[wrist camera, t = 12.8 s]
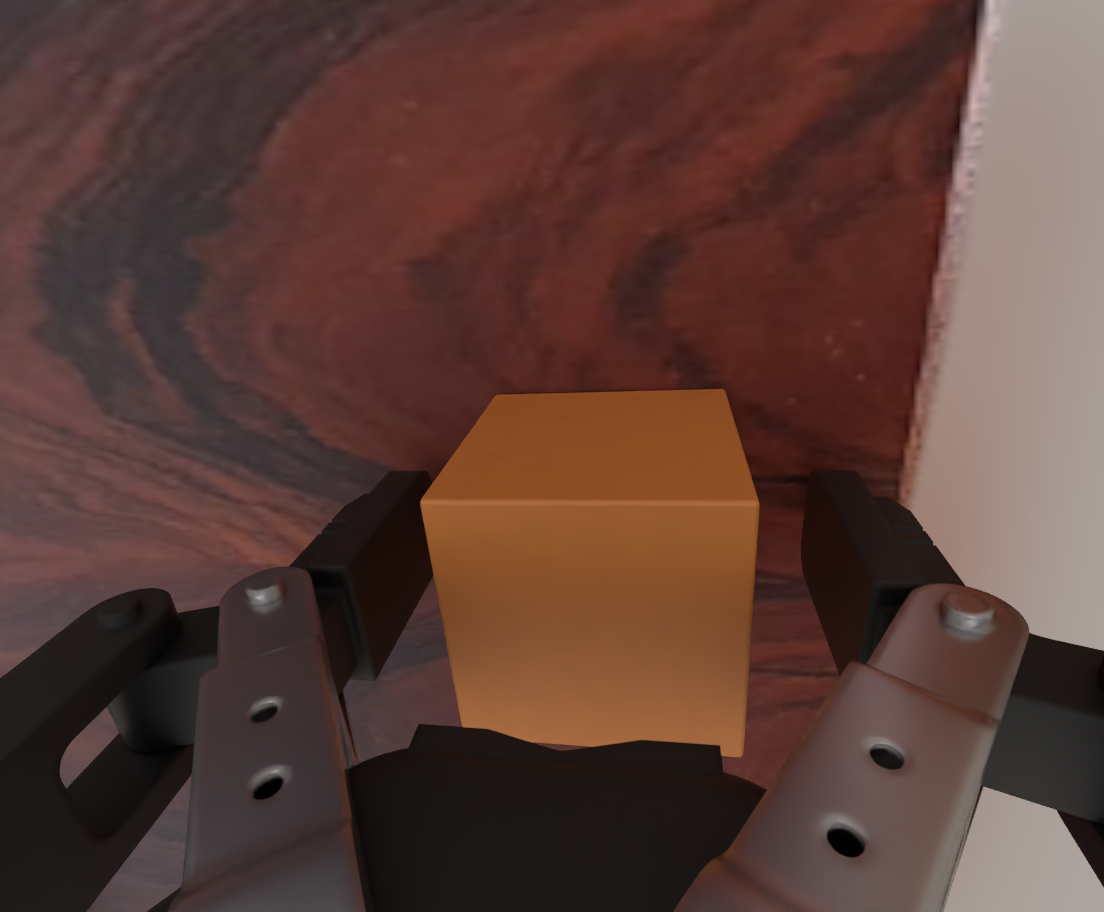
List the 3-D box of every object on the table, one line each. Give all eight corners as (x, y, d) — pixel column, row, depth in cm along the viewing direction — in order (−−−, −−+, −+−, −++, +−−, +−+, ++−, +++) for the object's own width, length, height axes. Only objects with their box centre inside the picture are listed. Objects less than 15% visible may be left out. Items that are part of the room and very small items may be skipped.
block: (718, 584, 14) (743, 759, 10) (517, 578, 15) (462, 739, 11) (725, 387, 12) (760, 501, 8) (495, 393, 13) (417, 501, 9)
